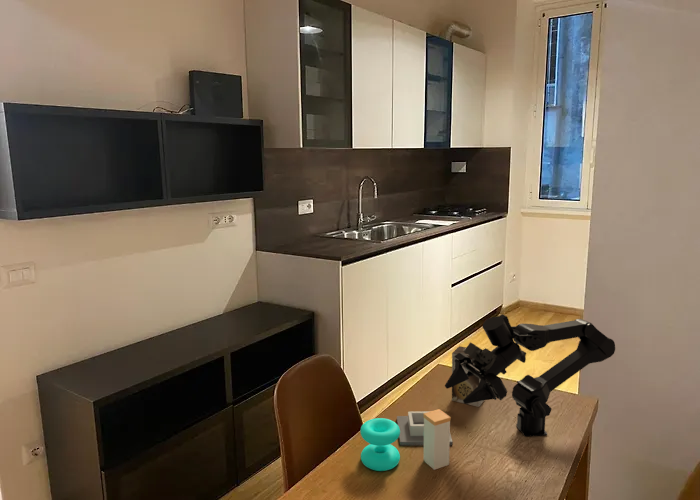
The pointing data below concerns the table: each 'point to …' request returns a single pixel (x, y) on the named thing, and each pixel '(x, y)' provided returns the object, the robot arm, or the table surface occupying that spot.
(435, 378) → the table surface
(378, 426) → the donuts
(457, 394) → the coffee box
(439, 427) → the plug
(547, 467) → the table surface
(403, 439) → the socket
